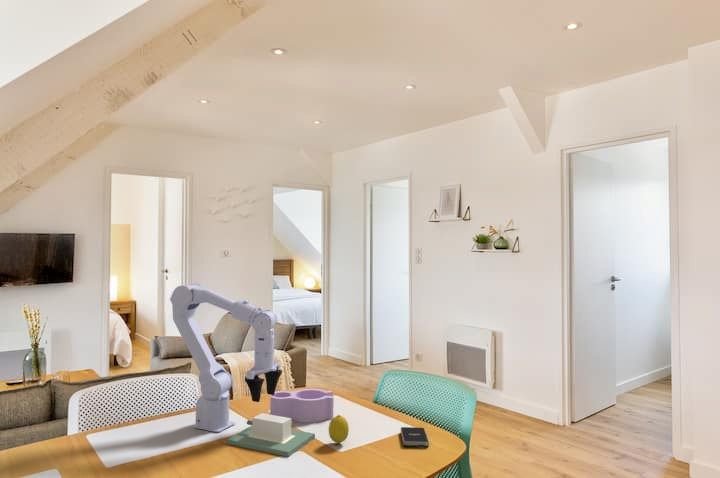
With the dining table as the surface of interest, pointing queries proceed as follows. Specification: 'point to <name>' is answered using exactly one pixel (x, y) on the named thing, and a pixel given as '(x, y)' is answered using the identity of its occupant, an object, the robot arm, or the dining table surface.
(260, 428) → the plug housing
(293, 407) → the purple lobed piece
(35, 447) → the dining table surface
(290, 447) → the board
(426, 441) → the external hard drive
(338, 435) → the lemon
